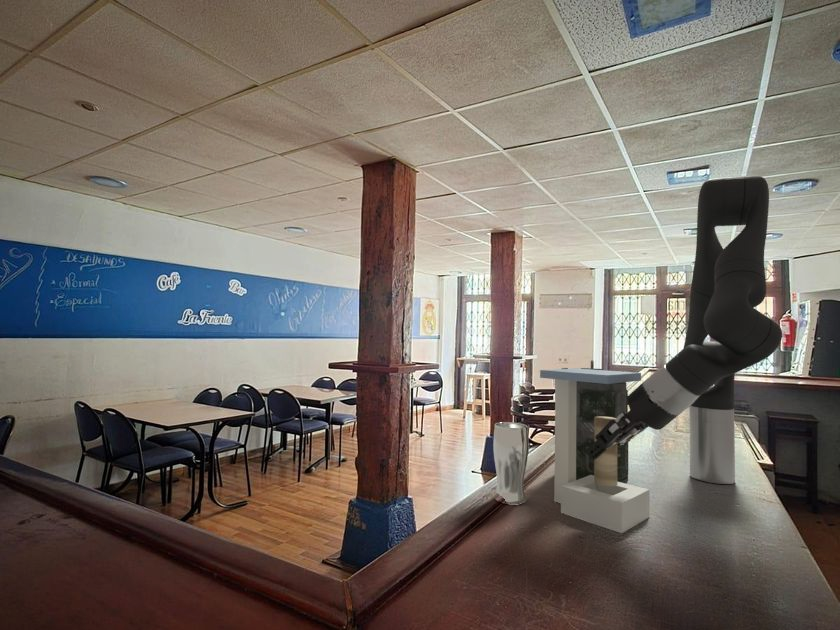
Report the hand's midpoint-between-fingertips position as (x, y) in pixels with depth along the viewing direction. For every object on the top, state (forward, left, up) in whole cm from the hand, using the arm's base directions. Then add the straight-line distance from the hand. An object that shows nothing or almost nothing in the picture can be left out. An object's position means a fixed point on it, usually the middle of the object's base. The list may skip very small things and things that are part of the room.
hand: (595, 453), depth 87 cm
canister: (-21, -7, -11) cm, 25 cm away
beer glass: (+5, -15, -11) cm, 20 cm away
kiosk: (0, 0, -11) cm, 11 cm away
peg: (0, +2, -5) cm, 5 cm away
